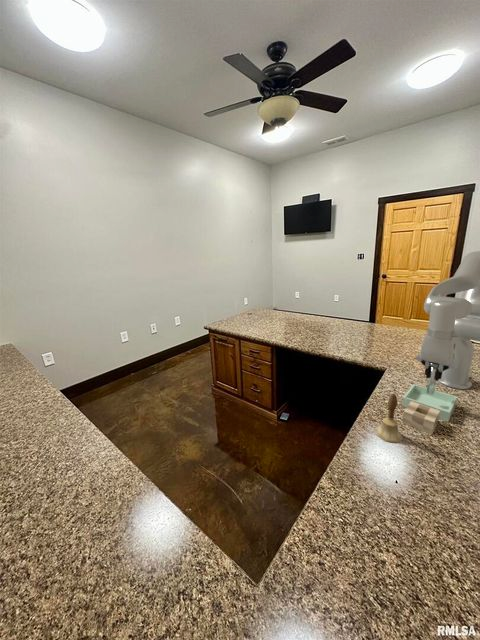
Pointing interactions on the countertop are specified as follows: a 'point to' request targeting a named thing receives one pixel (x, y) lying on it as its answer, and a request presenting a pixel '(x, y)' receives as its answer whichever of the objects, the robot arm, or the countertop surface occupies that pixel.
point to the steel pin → (432, 378)
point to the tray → (431, 400)
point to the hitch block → (421, 417)
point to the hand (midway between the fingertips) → (432, 378)
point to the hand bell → (389, 424)
